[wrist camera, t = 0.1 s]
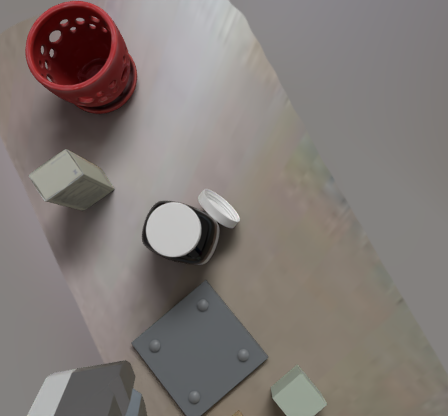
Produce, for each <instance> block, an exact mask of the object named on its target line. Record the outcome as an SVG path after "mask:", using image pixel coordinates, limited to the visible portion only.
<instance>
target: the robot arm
mask: <svg viewBox="0 0 448 416" xmlns="http://www.w3.org/2000/svg"><path fill="white" fill-rule="evenodd" d="M134 381H135V374H134V371H133V369H132V366H131V364H130V363H129V362H128V361H126V360H125V361H119V362H113V363H107V364H101V365H96V366H90V367H83V368H77V369H73V370H68V371H62V372H56V373H52V374H51V375H49V376H48V377H46V379H45V381H44V383H43V385H42V387H41V389H40V391H39V393H38V395H37V397H36V399H35V401H34V403H33V405H32V407H31V409H30V411H29V413H28V415H27V416H147V412H146V407H145V403H144V400H143V397H142V394H141V393H139V392H138V391H136V390H135V389H133V386H134Z"/></svg>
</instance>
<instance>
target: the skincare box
mask: <svg viewBox="0 0 448 416" xmlns="http://www.w3.org/2000/svg"><path fill="white" fill-rule="evenodd" d="M29 177H30V179H31V180H32V182H33V184H34V186H35V187H36V189H37V190H38V192H39V194H40V195H41V197H42V198H43V200H44V201H47V202H50V203H54V204H58V205H62V206H66V207H70V208H74V209H78V210H82V211H84V210H86V209H87V208H89V207H90V206H92V205H93V204H95V203H96V202H97V201H99V200H100V199H102V198H103V197H105V196H106V195H107V194H109V193H110V192H111V191H113V190H114V187H113V186H112V184H111V183H110V181H109V180H108V178H107V177H106V175H105V174H104V172H103V171H102V170H101V168H99V167H97V166H96V165H94V164H92V163H90V162H89V161H87V160H85V159H83V158H82V157H80V156H78V155H76V154H75V153H73V152H71V151H69V150H67V149H65V150H63V151H62V152H60V153H58V154H57V155H56V156H54V157H53V158H51V159H50V160H48V161H47V162H46V163H44V164H43V165H42V166H40V167H39V168H38V169H36V170H35V171H33V172H32V173H31V174H30V175H29Z"/></svg>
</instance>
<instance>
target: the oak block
mask: <svg viewBox="0 0 448 416" xmlns="http://www.w3.org/2000/svg"><path fill="white" fill-rule="evenodd" d="M232 416H243V415H242V413H241V412H240V411H239V410H238V411H237V412H236V413H235V414H234V415H232Z"/></svg>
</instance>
